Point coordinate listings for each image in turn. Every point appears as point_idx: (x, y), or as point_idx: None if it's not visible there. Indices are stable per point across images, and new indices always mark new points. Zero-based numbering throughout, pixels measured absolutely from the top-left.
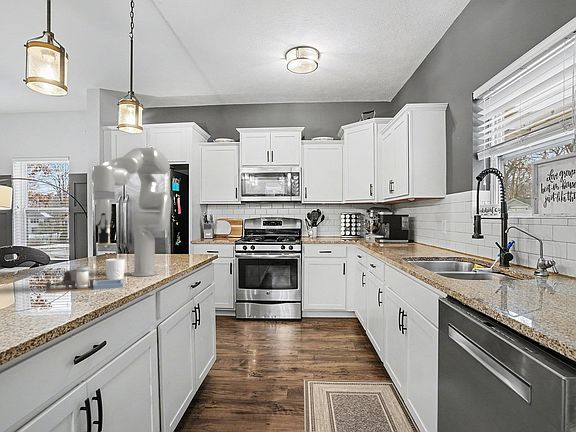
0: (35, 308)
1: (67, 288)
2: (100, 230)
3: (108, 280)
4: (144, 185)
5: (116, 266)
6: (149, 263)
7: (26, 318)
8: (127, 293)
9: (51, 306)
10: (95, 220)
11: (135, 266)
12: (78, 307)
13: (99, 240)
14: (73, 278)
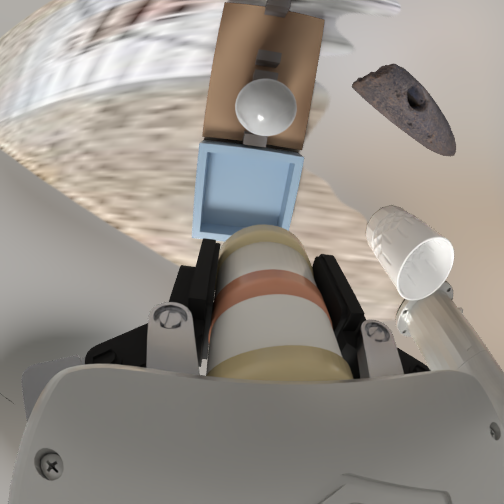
0: (83, 24)
1: (255, 61)
2: (149, 333)
3: (290, 201)
4: None
5: (387, 257)
6: (417, 340)
7: (18, 47)
8: (154, 234)
9: (83, 52)
10: (38, 423)
11: (440, 304)
12: (45, 119)
13: (201, 252)
14: (363, 91)
